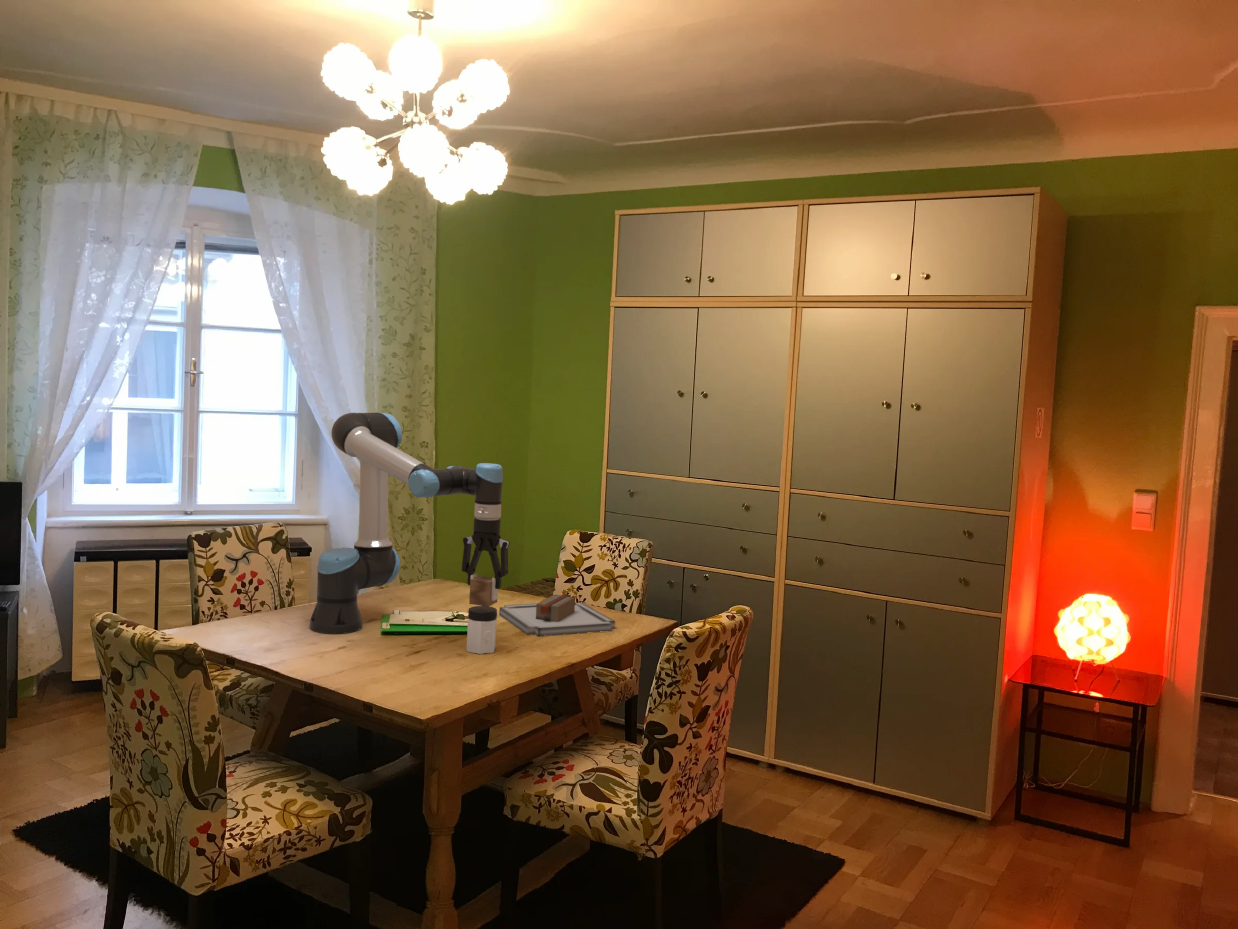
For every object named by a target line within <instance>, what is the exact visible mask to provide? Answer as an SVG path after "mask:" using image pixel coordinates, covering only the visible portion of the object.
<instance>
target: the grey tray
mask: <svg viewBox="0 0 1238 929" xmlns="http://www.w3.org/2000/svg"><path fill="white" fill-rule="evenodd" d="M498 613H499V614H498V615H499V616H500V617H502V618H503V619H504V620H505V621H507V622H509V623H510V624H511V625H513V626H514V627H515V628H517V629H519V630H520V631H521V632H523V633H524V634H525V633H526V634H525V635H527V636H529V634H533V635H535V634H536V635H535V636H536V637H545V636H544V635H552V636H563V634H566V635H576V634H577V633H580V634H588V633H587V632H594V633H601V632H600V631H608V632H612V630H614V629H616V620H614V619H612V618H611V617H608V616H607V615H605V614H603V613H601V612H600V611H598V610H596V609H594V608H593V607H590V606H589V605H588V604H586V603H584V602H576V597H575V596H572V595H571V594H566V593H563V594H562V595H559V594H552V595H551V596H548V597H547V598H545V599H543V600H541V601H539V602H537V603H535V602H534V603H519V604H518V603H517V604H504V605H503V606H501V607H499V612H498Z"/></svg>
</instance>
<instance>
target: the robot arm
mask: <svg viewBox="0 0 1238 929" xmlns="http://www.w3.org/2000/svg"><path fill="white" fill-rule="evenodd" d="M330 432H331V433H330V434H331V440H332V443H333V444H334V445H335V447H336V448H337V449H339V450H340V451H341V452H343V453H344V454H346V455H347V456H349V457H352V458H356V459H357V460H358V461H359V527H358V530H359V531H358V532H359V535H358V536H359V537H358V539H357V540H356V541H355V542H354V543H353V547H341V548H339V547H337V548H331V549H328V550H325V551H323V552H322V553H321V554H320V555H319V557H318V565H317V566H316V568H317V583H316V584H317V585H316V586H317V588H316V590H317V591H316V592H317V593H316V604H315V607H314V609H313V612H312V614H311V617H310V621H309V628H310V630H311V631H314V632H317V633H320V634H321V633H322V634H334V635H335V634H348V633H354V632H357V631H359V630H361V629H362V628H363V618H362V614H361V612H360V608H359V604H358V590H363V589H364V590H365V589H369V588H374V587H377V588H378V587H382V586H384V585H388V584H390V583H392V582H394V580H395V579H396V578H397V576H398V575H399V573H400V572H399V571H400V568H401V560H400V556H399V555H398V552H397V550H396V549H394V548H393V543H392V542H391V540H389V538H388V534H389V533H388V532H389V531H388V524H389V523H388V521H389V475H390V476H392V477H393V478H395V479H397V480H398V481H400V482H401V483H404V484H405V485H407V486H408V488H409V489H408V490H409V491H410V492H411V494H412V495H413V496H414V497H417V498H427V499H428V498H431V497H439V496H440V497H441V496H449V495H452V496H453V495H471V496H474V512H473V516H474V517H475V518H474V519H473V530H472V531H473V533H472V535H471V536H464V537H463V538H462V541H463V542H462V543H463V554H462V561H461V562H462V563H461V571H462V572H463V573H464V572H465V573H466V574H467V586H470V580H471V579H473V578H476V577H478V573H476V569H477V567H478V566H477V565H478V564H479V560H480V559H481V555H482V552H483V551H486V552H488V555H489V556H490V561H491V565H492V569H493V574H494V576H493V577H492V598H491V600H492V601H494V600H496V599H497V600H498V599H499V598H498V596H499V589H501V587H502V577H505V576H506V577H507V575H508V574H509V548H510V547H509V546H510V544H511V542H510V540H503V539H502V538H501V535H500V534H501V522H502V521H501V519H500V518H501V517H502V494H503V481H504V478H503V476H504V474H503V473H504V472H503V471H504V470H503V467H502V465H500V464H498V463H490V462H484V463H483V462H480V463H478V464H477V465H476V467H475V468H470V467H463V466H460V465H458V466H457V465H456V466H455V465H450V466H447V467H446V468H433V467H431V466H429V465H428V464H425V463H424V462H423V461H420V460H419V459H417V458H415V457H413V456H411V455H409V454H408V453H405V451H402V450H400V449H399V448H398V447H400V444H401V443H402V441H403V439H402V438H403V431H402V428H401V424H400V423H399V421H398V420H397V419H396V417H394V415H392V414H389V413H388V412H387V413H385V412H378V411H377V412H348V413H345V414H343V415H341V416H339V417H338V418H337V419H336V420H335V421H334V422H333V424H332V427H331V431H330ZM473 543H474V545H475V546H474V547H475V548H474V550H473V555H472V558H471V554H472V544H473ZM498 545H499V547H500V559H499V556H498V548H497V546H498Z"/></svg>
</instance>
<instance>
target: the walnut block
mask: <svg viewBox="0 0 1238 929" xmlns="http://www.w3.org/2000/svg"><path fill="white" fill-rule="evenodd" d="M492 578H493V577H490V576H483V575H477V577H476V578H473V579H471V580H470V585H469V602H468V604H469V605H472V606H488V607H492V605H494V604H496V603H498V599H496V600H494V601H492V600H491V598H492Z"/></svg>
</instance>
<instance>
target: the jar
mask: <svg viewBox="0 0 1238 929" xmlns="http://www.w3.org/2000/svg"><path fill="white" fill-rule="evenodd" d="M467 617H468V619H467V631H466V632H467V633H466V634H467V635H466V652H467V653H471V654H476V653H477V654H476V655H485V654H484V653H487V654H494V653H495V651H496V638H497V619H498V618H497V617H498V609H497V608H496V607H493V606H489V607H488V606H480V605H473V606H471V607H468V615H467Z"/></svg>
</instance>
